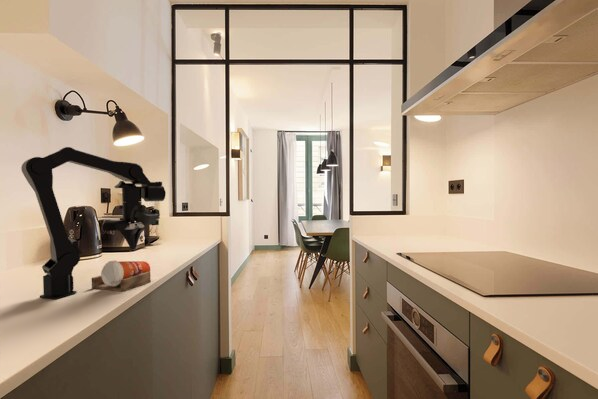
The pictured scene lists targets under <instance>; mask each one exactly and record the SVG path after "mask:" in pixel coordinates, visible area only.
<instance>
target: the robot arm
mask: <svg viewBox="0 0 598 399" xmlns="http://www.w3.org/2000/svg"><path fill="white" fill-rule="evenodd" d="M66 163H69V164H70V163H71V164H74V165H79V166H83V167H86V168H90V169H92V170H93V169H94V170H97V171H101V172H104V173H107V174H110V175H111V176H113V177H114V178H117V179H119V180H120V181H119V182H118V183H117V184H116V185H114V188H115V189H121V197H122V198H121V201H122V202H121V203H122V204H121V205H119V210H121V209H122V217H120V218H119V219H112V220H111V219H110V220H105V221H104V222H103V223H102V230H103V231H118V232H120V234H121V235H122V236H123V238H124V239H125V241H126V243H127V244H128V247H129V248H130V250H132V251H133V250H136V249H137V245H138V242H139V240H140V237H141V234H142V233H143V231H145V230H147V228H148V227H145V226H160V223H159V222H160V219H161V218H160V215H161V214H160V213H161V212H160V209H156V208H152V209H151V210H147V209H146V205H145V204H142V203H143V202H142V201H144V202H163V201H165V199H166V194H167V192H166V190H165V187H164V185H163V181H150V180H149V178H148V177H147V176H146V175H145V173H144V169H143V167H142V166H141V165H140V164H138V163H136V162H135V163H134V162H127V161H116V160H112V159H108V158H105V157H101V156H98V155H95V154H91V153H88V152H84V151H81V150H78V149H75V148H73V147H70V146H64V147H62V148H60V149H59V150H58V151H55V152H53V153H51V154H49V155H46V156H44V157H41V156H35V157H34V156H33V157H31V158H29V159H27V160H25V161H24V162H23V163H22V164H21V167H20V168H21V172H22V174H23V176H24V178H25V180H26V181H27V183H28V185H29V186H30V187H31V188H32V190H33V191H34V193H35V196H36V200H37V203H38V206H39V209H40V212H41V214H42V217H43V218H42V219H43V220H44V224H45V226H46V230H47V232H48V235H49V243H50V244H49V252H50V253H49V254H50V258H49V259H48V261H46V262H45V263H44V264H43V265H42V266H41V268H42V270H43V272H44V273H45V275H43V276H42V280H43V281H42V284H43V294H41V295H39V298H41V299H53V300H56V299H61V298H64V297H67V296H71V295H73V294H77V290H74V276H73V270H74V268H75V267H76V266H77V265H78V264H79V262H80V260H81V255H82V254H83V252H82V251H81V250H80V247H79V241H78V240H76V239H72V238H70V237H69V235H68V233H67V230H66V226H65V223H64V220H63V217H62V213H61V212H60V211H61V210H60V207H59V204H58V202H57V199H56V195H55V191H54V188H53V186H54V185H53V183H54V176H53V169H56V168H58V167H60V166H61V165H64V164H66ZM126 182H128V183H126ZM137 185H138V186H137Z"/></svg>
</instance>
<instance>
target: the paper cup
mask: <svg viewBox="0 0 598 399" xmlns="http://www.w3.org/2000/svg"><path fill="white" fill-rule="evenodd" d="M145 272H150V273H151V266H150V263H148V262H147V261H143V260H142V261H139V260H137V261H134V260H133V261H129V260H128V261H126V260H125V261H123V260H121V261H117V260H109V261H107V262H106V263H105V264H104V266H103V267H102V269H101V272H100V276H101V278H102V280H103V282H104V283H105V284H106V285H109V286H117V285H118V284H121V280H122V279H126V278H129V277H132V276H136V275H139V274H142V273H145Z"/></svg>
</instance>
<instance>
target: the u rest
mask: <svg viewBox="0 0 598 399" xmlns="http://www.w3.org/2000/svg"><path fill="white" fill-rule="evenodd" d="M148 283H151V271H150V272H145V273H142V274H139V275H136V276H132V277H129V278H126V279H122V280H121V284H118V285H117V286H109V285H106V284H105V283H104V282H103V280H102V278H101V275H97V276H94V277H91V289H94V290H95V289H97V290H106V291H107V290H109V291H119V292H120V291H121V292H126V291H129V290H131V289H134V288H137V287H140V286H143V285H145V284H148Z"/></svg>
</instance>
